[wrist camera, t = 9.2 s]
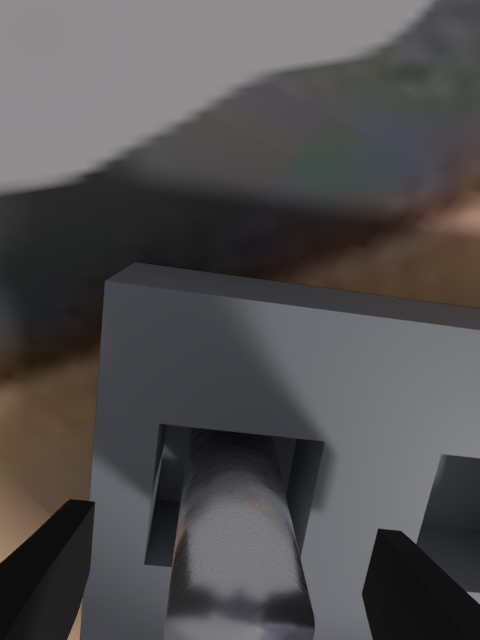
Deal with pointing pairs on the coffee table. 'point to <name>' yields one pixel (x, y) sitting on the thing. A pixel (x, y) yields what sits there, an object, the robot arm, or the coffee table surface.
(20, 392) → the coffee table surface
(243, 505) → the pin
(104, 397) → the hole board
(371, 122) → the coffee table surface
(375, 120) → the coffee table surface
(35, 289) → the coffee table surface
